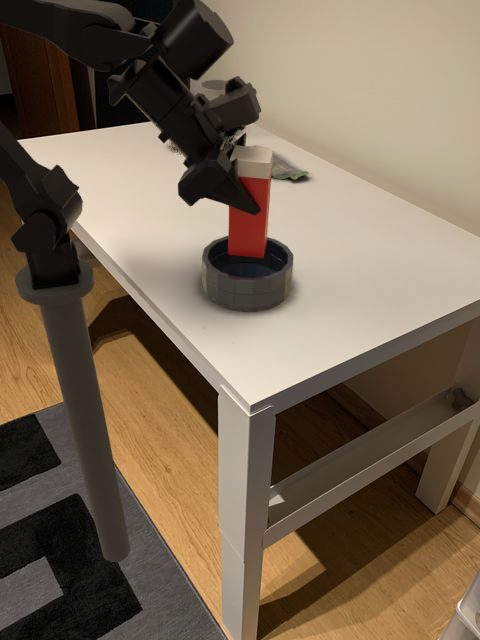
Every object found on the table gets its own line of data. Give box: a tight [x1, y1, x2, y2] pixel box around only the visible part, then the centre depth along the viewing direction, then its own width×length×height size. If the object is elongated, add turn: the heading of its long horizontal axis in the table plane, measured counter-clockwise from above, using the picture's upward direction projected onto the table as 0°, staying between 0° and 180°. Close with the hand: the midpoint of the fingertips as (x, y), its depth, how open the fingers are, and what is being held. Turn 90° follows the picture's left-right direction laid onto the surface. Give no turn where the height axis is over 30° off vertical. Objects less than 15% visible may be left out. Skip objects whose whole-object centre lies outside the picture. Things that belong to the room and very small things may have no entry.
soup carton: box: [227, 145, 274, 258], centre depth 72 cm, size 5×5×13 cm
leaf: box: [271, 154, 311, 180], centre depth 115 cm, size 20×8×1 cm, turn 32°
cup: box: [199, 79, 237, 135], centre depth 126 cm, size 8×8×10 cm
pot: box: [201, 235, 294, 313], centre depth 78 cm, size 13×13×5 cm
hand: (260, 204), depth 72 cm, fingers closed on soup carton, 5 cm apart
